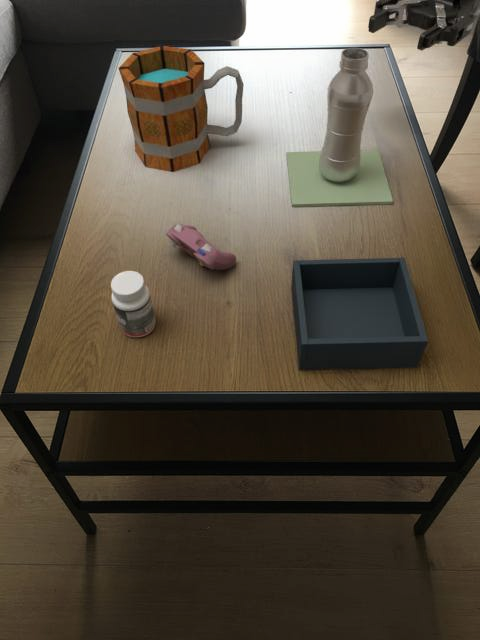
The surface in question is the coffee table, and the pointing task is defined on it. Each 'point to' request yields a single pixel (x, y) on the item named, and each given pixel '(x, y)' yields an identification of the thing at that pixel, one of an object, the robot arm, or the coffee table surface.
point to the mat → (320, 191)
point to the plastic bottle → (346, 116)
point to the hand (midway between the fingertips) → (395, 34)
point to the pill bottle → (132, 304)
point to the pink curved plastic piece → (199, 247)
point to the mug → (172, 106)
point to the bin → (356, 314)
